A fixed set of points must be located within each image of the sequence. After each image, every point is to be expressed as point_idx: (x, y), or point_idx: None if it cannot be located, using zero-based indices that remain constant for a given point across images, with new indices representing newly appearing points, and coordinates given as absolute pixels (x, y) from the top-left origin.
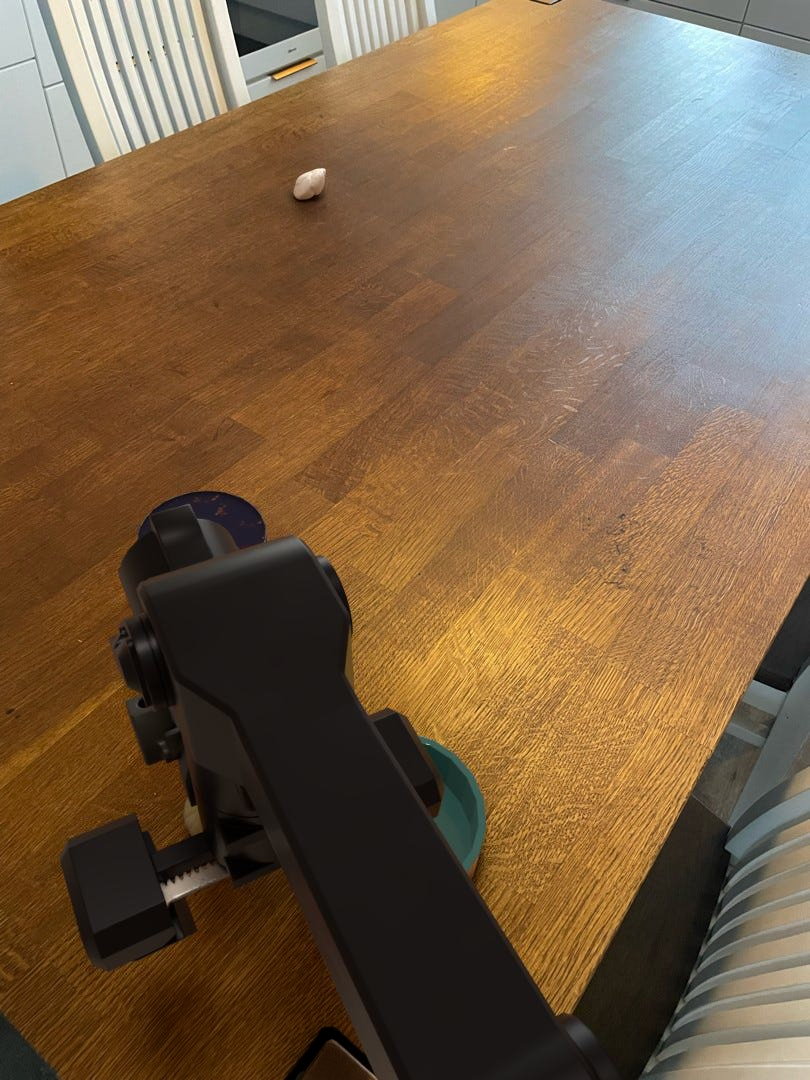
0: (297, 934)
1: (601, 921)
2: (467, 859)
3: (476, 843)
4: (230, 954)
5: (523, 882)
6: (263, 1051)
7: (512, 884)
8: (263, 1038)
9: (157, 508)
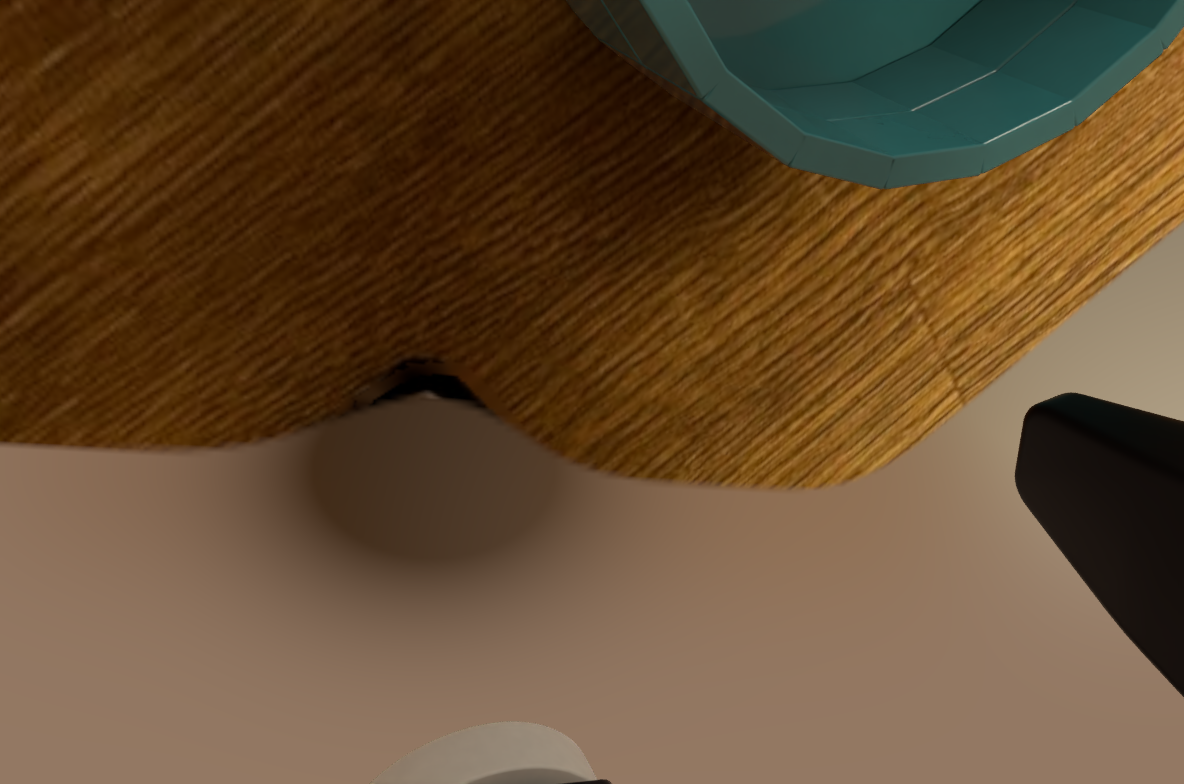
0: (377, 40)
1: (1180, 203)
2: (1123, 66)
3: (1180, 8)
4: (74, 55)
5: None
6: (198, 405)
7: None
8: (201, 369)
9: None
